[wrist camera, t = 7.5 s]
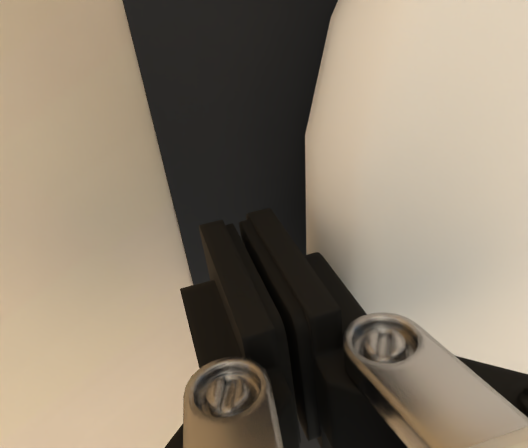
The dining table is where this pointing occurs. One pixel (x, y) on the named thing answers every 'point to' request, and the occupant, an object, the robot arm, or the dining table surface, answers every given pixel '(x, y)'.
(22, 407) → the dining table surface
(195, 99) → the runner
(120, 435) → the dining table surface
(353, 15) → the plate
